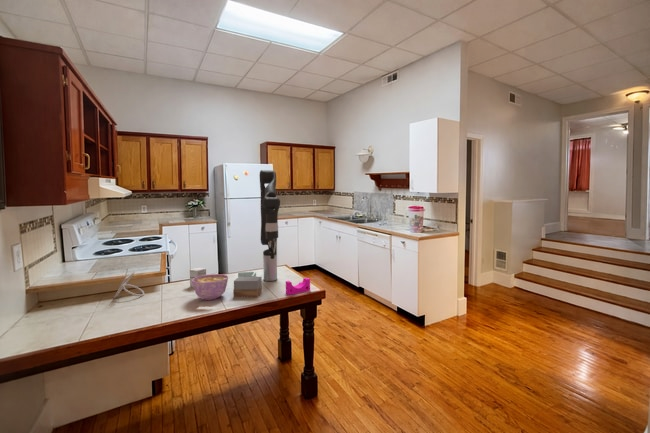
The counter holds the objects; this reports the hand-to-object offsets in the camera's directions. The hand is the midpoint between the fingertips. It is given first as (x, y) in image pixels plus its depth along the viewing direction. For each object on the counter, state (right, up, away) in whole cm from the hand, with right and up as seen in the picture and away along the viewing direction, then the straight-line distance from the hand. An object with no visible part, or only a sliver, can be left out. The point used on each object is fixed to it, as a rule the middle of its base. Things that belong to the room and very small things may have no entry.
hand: (272, 258), depth 186 cm
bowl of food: (-35, -22, -8) cm, 42 cm away
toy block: (+15, -21, +3) cm, 26 cm away
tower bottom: (-14, -22, -3) cm, 26 cm away
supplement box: (-51, -21, +13) cm, 56 cm away
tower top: (-14, -17, -3) cm, 22 cm away
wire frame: (-87, -25, -5) cm, 90 cm away
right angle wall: (-21, -21, +19) cm, 35 cm away
